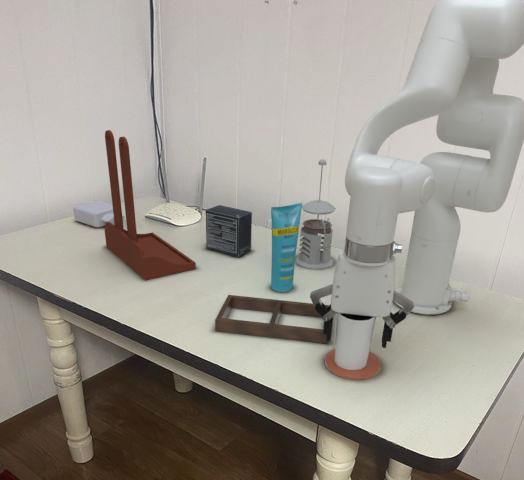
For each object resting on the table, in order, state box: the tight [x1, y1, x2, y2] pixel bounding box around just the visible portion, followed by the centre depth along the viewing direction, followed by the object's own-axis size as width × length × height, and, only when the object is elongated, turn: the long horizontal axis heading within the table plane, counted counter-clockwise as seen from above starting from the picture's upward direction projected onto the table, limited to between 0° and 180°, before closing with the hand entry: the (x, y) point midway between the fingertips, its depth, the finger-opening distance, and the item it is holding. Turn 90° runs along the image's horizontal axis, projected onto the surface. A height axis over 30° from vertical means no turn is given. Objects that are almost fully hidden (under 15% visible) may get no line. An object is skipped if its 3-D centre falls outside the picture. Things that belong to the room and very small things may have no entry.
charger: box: [73, 199, 126, 229], centre depth 160 cm, size 5×9×15 cm
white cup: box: [334, 313, 377, 370], centre depth 98 cm, size 7×7×10 cm
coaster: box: [324, 348, 382, 381], centre depth 101 cm, size 10×10×1 cm
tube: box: [270, 202, 303, 293], centre depth 123 cm, size 7×5×19 cm, turn 123°
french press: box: [295, 158, 336, 270], centre depth 135 cm, size 10×12×25 cm
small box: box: [205, 204, 253, 258], centre depth 145 cm, size 11×6×10 cm, turn 58°
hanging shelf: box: [103, 129, 197, 281], centre depth 133 cm, size 24×13×30 cm, turn 34°
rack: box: [214, 294, 330, 344], centre depth 113 cm, size 22×12×2 cm, turn 80°
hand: (356, 341), depth 99 cm, fingers open, 9 cm apart
